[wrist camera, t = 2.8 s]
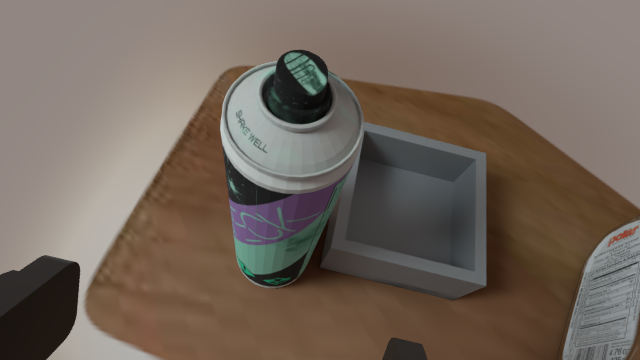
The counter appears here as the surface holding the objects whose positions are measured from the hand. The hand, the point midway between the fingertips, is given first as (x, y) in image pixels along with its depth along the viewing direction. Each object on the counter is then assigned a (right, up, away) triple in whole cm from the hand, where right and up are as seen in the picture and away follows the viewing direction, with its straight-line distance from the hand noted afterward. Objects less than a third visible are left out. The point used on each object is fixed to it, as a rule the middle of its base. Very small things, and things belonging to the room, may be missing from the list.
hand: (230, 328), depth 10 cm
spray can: (-1, -2, +20) cm, 20 cm away
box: (+8, 0, +23) cm, 24 cm away
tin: (+23, -7, +22) cm, 33 cm away
